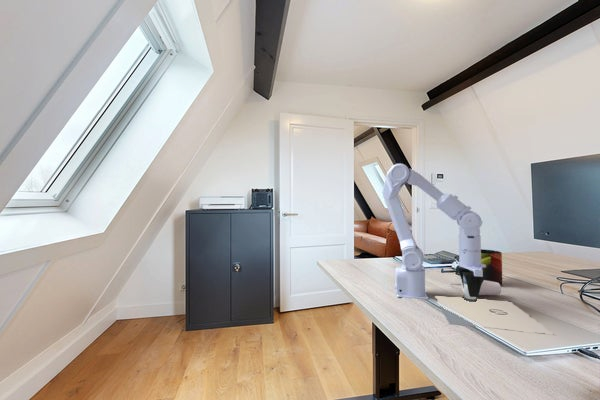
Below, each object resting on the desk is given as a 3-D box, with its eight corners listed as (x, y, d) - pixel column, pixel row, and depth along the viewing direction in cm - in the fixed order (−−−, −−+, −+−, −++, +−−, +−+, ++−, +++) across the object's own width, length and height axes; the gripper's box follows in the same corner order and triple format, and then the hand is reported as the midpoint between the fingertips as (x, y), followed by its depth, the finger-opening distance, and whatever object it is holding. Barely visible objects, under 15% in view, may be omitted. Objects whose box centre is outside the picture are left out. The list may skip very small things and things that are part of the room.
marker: (465, 302, 81) (465, 276, 81) (462, 298, 84) (461, 273, 84) (478, 303, 80) (478, 277, 80) (474, 299, 83) (474, 274, 83)
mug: (492, 277, 107) (492, 248, 107) (507, 288, 94) (506, 254, 94) (465, 275, 110) (464, 247, 110) (475, 286, 97) (475, 253, 97)
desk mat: (449, 325, 67) (449, 324, 67) (432, 295, 88) (432, 294, 88) (556, 336, 61) (556, 335, 61) (510, 301, 82) (510, 300, 82)
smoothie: (505, 288, 82) (456, 284, 84) (500, 303, 85) (452, 299, 87) (495, 274, 87) (449, 271, 90) (490, 288, 90) (446, 285, 93)
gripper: (494, 254, 74) (496, 303, 74) (476, 246, 88) (477, 287, 88) (465, 253, 76) (467, 301, 76) (452, 245, 90) (453, 285, 90)
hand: (470, 293), depth 82 cm, fingers open, 4 cm apart
